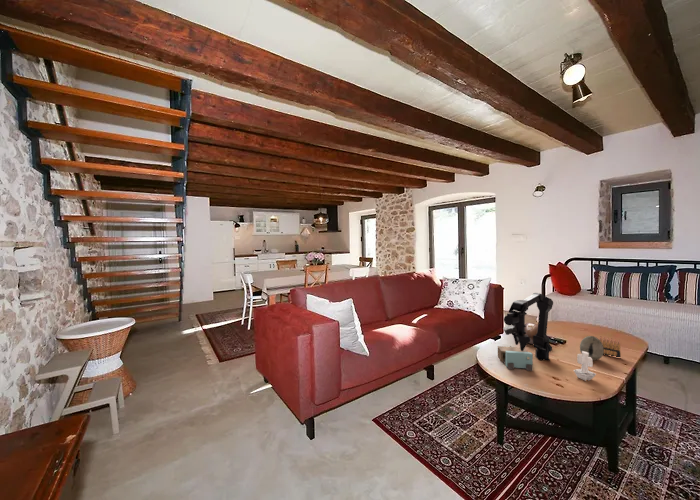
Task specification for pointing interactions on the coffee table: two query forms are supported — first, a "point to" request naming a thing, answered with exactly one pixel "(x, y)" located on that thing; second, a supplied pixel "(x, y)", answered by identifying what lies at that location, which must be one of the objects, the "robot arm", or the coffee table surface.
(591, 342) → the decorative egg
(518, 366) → the door
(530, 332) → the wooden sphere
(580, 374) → the figurine
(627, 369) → the coffee table surface
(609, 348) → the ammunition clip
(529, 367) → the brown legged block
